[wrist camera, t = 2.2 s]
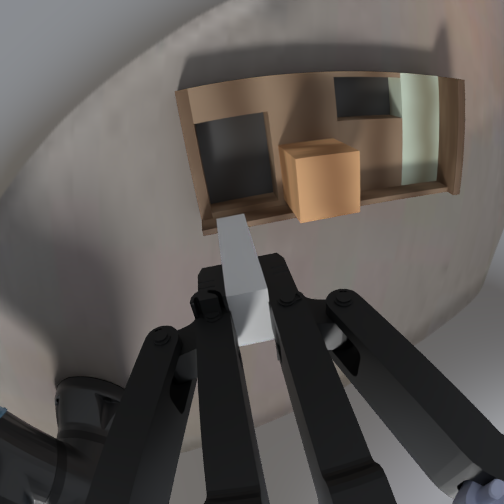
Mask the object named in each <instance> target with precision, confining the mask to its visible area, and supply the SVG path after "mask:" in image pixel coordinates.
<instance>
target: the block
mask: <svg viewBox="0 0 504 504" xmlns="http://www.w3.org/2000/svg"><path fill="white" fill-rule="evenodd" d="M278 148H279V157H280V165H281V174H282V184H283V193H284V200H285V201H286V203H287V204H288V206H289V207H290V208H291V210H292V211H293V213H294V214H295V216H296V217H297V218H298V220H299V221H300V223H304V222H309V221H315V220H320V219H325V218H331V217H336V216H341V215H347V214H352V213H358V212H360V151H359V150H357V149H355V148H353V147H351V146H349V145H346V144H344V143H342V142H340V141H338V140H336V139H334V138H331V139H322V140H313V141H305V142H297V143H290V144H283V145H278Z"/></svg>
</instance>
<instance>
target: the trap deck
mask: <svg viewBox="0 0 504 504" xmlns="http://www.w3.org/2000/svg"><path fill="white" fill-rule="evenodd" d="M175 96H176V101H177V106H178V111H179V117H180V122H181V127H182V132H183V137H184V141H185V146H186V151H187V156H188V161H189V165H190V170H191V175H192V179H193V184H194V188H195V193H196V197H197V202H198V206H199V210H200V215H201V219H202V231H203V236H206V235H211V234H216V233H218V229H217V220H216V219H219V218H224V217H229V216H234V215H239V214H244V215H245V218H246V222H247V225H248V227H251V226H256V225H261V224H266V223H271V222H276V221H282V220H287V219H292V218H297V217H296V216H295V214H294V213H293V211H292V210H291V208H290V207H289V206H288V204H287V203H286V201H285V200H284V193H283V184H282V174H281V165H280V157H279V148H278V145H283V144H290V143H297V142H305V141H313V140H322V139H331V138H334V139H336V140H338V141H340V142H342V143H344V144H346V145H349V146H351V147H353V148H355V149H357V150H359V151H360V206H363V205H369V204H375V203H380V202H386V201H392V200H398V199H404V198H410V197H416V196H422V195H429V194H435V193H441V192H449V193H450V194H452V195H457V194H459V193H460V185H461V176H462V165H463V152H464V134H465V83H464V80H461V79H454V78H447V77H439V76H430V75H421V74H409V73H394V72H370V71H333V72H309V73H293V74H281V75H271V76H262V77H253V78H246V79H239V80H232V81H226V82H220V83H214V84H208V85H203V86H198V87H193V88H188V89H183V90H179V91H175Z"/></svg>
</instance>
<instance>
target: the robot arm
mask: <svg viewBox="0 0 504 504" xmlns="http://www.w3.org/2000/svg"><path fill="white" fill-rule="evenodd" d="M216 220H217V229H218V237H219V245H220V253H221V261H222V265H217V266H212V267H207V268H202V269H201V271H200V273H199V275H198V292H197V293H195V294H194V295H193V296H192V297H191V300H190V305H191V307H192V310H193V313H194V316H195V320H194V322H192V323H191V324H190V325H188V326H186V327H184V328H182V329H180V330H176V329H175V328H173V327H172V326H160V327H157V328H155V329H153V330H152V331H151V332H150V333H149V334H148V335H147V337H146V338H145V341H144V343H143V346H142V348H141V350H140V353H139V355H138V358H137V360H136V362H135V365H134V367H133V370H132V372H131V375H130V377H129V380H128V382H127V385H126V387H125V390H124V389H123V388H121V387H119V386H117V385H114V384H112V383H109V382H106V381H103V380H99V379H95V378H89V377H72V378H68V379H65V380H63V381H62V382H61V383H60V384H59V385H58V387H57V391H56V395H55V406H56V418H57V425H58V435H57V439H56V438H54V437H52V436H50V435H48V434H46V433H44V432H42V431H41V430H39V429H37V428H35V427H33V426H31V425H30V424H28V423H26V422H25V421H23V420H21V419H20V418H18V417H16V416H15V415H13V414H11V413H10V412H8V411H7V409H6V408H2V407H1V406H0V504H169V500H170V495H171V491H172V486H173V482H174V477H175V473H176V468H177V463H178V459H179V455H180V450H181V446H182V442H183V437H184V433H185V429H186V424H187V420H188V416H189V412H190V407H191V403H192V399H193V395H194V391H195V386H196V382H197V377H198V395H199V411H200V425H201V438H202V450H203V461H204V472H205V481H206V491H207V498H206V501H205V503H204V504H270V503H269V498H268V493H267V489H266V484H265V479H264V474H263V469H262V464H261V460H260V455H259V449H258V444H257V439H256V434H255V429H254V423H253V418H252V413H251V408H250V402H249V397H248V391H247V386H246V380H245V375H244V369H243V363H242V358H241V353H240V350H239V346H244V345H249V344H254V343H259V342H264V341H268V340H273V339H274V337H275V342H276V349H277V357H278V360H280V364H281V367H282V371H283V374H284V378H285V382H286V385H287V389H288V392H289V396H290V400H291V403H292V407H293V410H294V414H295V417H296V421H297V425H298V428H299V432H300V435H301V439H302V443H303V446H304V450H305V453H306V457H307V461H308V464H309V468H310V471H311V475H312V478H313V482H314V485H315V489H316V493H317V497H318V502H319V504H397V503H396V501H395V498H394V495H393V493H392V490H391V487H390V485H389V482H388V480H387V477H386V475H385V473H384V470H383V469H382V467H381V466H380V465H379V464H378V463H376V462H374V460H373V459H372V457H371V454H370V452H369V449H368V447H367V444H366V442H365V439H364V436H363V434H362V431H361V429H360V426H359V424H358V421H357V419H356V417H355V414H354V412H353V409H352V407H351V404H350V402H349V399H348V397H347V394H346V392H345V390H344V387H343V385H342V382H341V380H340V378H339V375H338V373H337V370H336V368H335V366H334V363H333V361H334V362H335V363H336V364H337V366H338V367H339V368H340V369H341V371H342V372H343V373H344V374H345V376H346V377H347V378H348V379H349V380H350V382H351V383H352V384H353V385H354V387H355V388H356V389H357V390H358V392H359V393H360V394H361V395H362V396H363V398H364V399H365V400H366V401H367V403H368V404H369V405H370V406H371V408H372V409H373V410H374V411H375V412H376V414H377V415H378V416H379V417H380V419H381V420H382V421H383V422H384V423H385V425H386V426H387V427H388V428H389V430H391V432H392V433H393V434H394V436H395V437H396V438H397V439H398V441H399V442H400V443H401V444H402V446H403V447H404V448H405V449H406V450H407V452H408V453H409V454H410V455H411V457H412V458H413V459H414V460H415V461H416V463H417V464H418V465H419V466H420V468H421V469H422V470H423V471H424V472H425V474H426V475H427V476H428V477H429V479H430V480H431V481H432V482H433V483H434V484H435V485H436V486H437V487H438V488H439V489H440V490H441V491H443V492H444V493H445V494H446V495H448V496H449V497H451V498H453V499H454V501H453V504H504V435H503V434H501V433H500V432H499V431H498V430H497V429H496V428H495V427H494V426H493V425H492V423H491V422H490V421H489V420H488V419H487V418H486V417H485V416H484V415H483V414H482V413H481V412H480V411H479V410H478V409H477V408H476V407H475V406H474V405H473V404H472V403H471V402H470V401H469V400H468V399H467V398H466V397H465V396H464V395H463V394H462V393H461V392H460V391H459V390H458V389H457V388H456V387H455V386H454V385H453V384H452V383H451V382H450V381H449V380H448V379H447V378H446V377H445V376H444V375H443V374H442V373H441V372H440V371H439V370H438V369H437V368H436V367H435V366H434V365H433V364H432V363H431V362H430V361H429V360H428V359H427V358H426V357H425V356H424V355H423V354H422V353H421V352H419V351H418V350H417V349H416V348H415V347H414V346H413V345H412V344H411V343H410V342H409V341H408V340H407V339H406V338H405V337H404V336H403V335H402V334H401V333H400V332H399V331H397V330H396V329H395V328H394V327H393V326H392V325H391V324H390V323H389V322H388V321H387V320H386V319H385V318H384V317H382V316H381V315H380V314H379V313H378V312H377V311H376V310H375V309H374V308H373V307H372V306H371V305H369V304H368V303H367V302H366V301H365V300H364V299H363V298H362V297H361V296H360V295H358V294H357V293H356V292H354V291H352V290H348V289H338V290H335V291H333V292H331V293H330V294H329V295H328V296H327V298H326V300H317V299H310V298H306V297H305V296H304V295H303V294H302V293H301V292H299V291H298V289H297V287H296V285H295V283H294V280H293V278H292V276H291V273H290V271H289V269H288V267H287V264H286V262H285V260H284V258H283V257H282V256H280V255H279V254H278V253H273V254H268V255H263V256H258V257H257V253H256V250H255V247H254V244H253V241H252V237H251V234H250V231H249V228H248V225H247V222H246V218H245V215H244V214H239V215H234V216H229V217H224V218H219V219H216ZM331 358H332V359H333V361H332V359H331Z"/></svg>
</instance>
